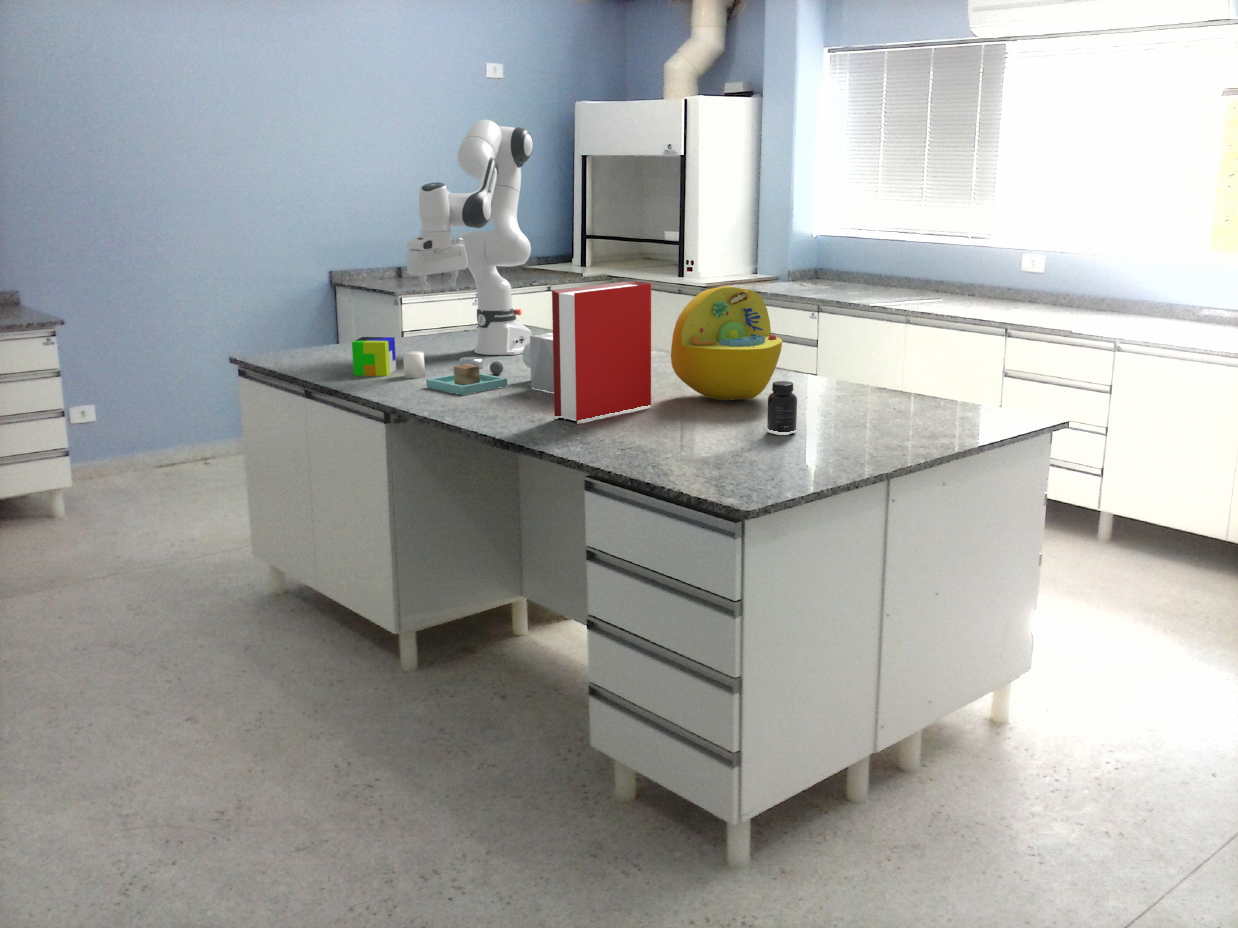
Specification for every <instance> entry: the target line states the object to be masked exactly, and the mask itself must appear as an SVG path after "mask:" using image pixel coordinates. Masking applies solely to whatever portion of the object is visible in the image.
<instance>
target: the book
mask: <svg viewBox="0 0 1238 928" xmlns="http://www.w3.org/2000/svg"><path fill="white" fill-rule="evenodd" d="M551 303H552V304H551V305H552V307H551V313H552V316H551V317H552V333H553V368H554V395H553V400H554V401H553V403H554V404H553V410H554V413H553V414H554V416H563V417H566V418H572V419H576V421H578V420H581V419H586V418H592V417H595V416H600V415H605V414H609V413H615V412H620V411H623V410H628V409H634V408H637V407H641V406H648V405H651V406H652V282H645V281H634V280H633V281H629V280H628V281H620V282H611V283H604V284H597V285H596V284H595V285H587V286H579V287H578V286H577V287H570V288H561V289H552V290H551Z"/></svg>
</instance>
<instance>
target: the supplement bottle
mask: <svg viewBox="0 0 1238 928" xmlns="http://www.w3.org/2000/svg"><path fill="white" fill-rule="evenodd" d="M771 386H772V388H771V391H772V393H770V394H769V395H768V397H767V418H766V420H767V422H766V423H767V428H768V429H769V430H773V431H778V432H790V431H794V430H796V431H797V419H798V418H797V417H798V416H797V415H798V414H797V413H798V398H797V396H796V394H795V393H793V392H794V391H795V390H794V383H793V382H792V381H787V380H777V381H773V382H772V385H771ZM767 428H766V429H767Z"/></svg>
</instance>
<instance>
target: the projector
mask: <svg viewBox="0 0 1238 928" xmlns="http://www.w3.org/2000/svg"><path fill="white" fill-rule="evenodd" d="M522 360H523V363H524V365H525V366H526V367H527V368H529V369H530V383H531V385H530V386H531V387H530V389H531V388H534V389H540V390H546V391H549V392H554V368H553V332H548V333H540V334H534V335H533V334H532V336H530V341H529V342H528V343H527V344H526V346H525V347H524V350H523V353H522Z"/></svg>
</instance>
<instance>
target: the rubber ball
mask: <svg viewBox="0 0 1238 928" xmlns="http://www.w3.org/2000/svg"><path fill="white" fill-rule="evenodd" d="M489 371H490V372H491V374H492V375H494V376H498V375H501V374H502V373H503V371H504V365H503V363H502V362H500V361H498V360H496V361H493V362H491V364H489Z"/></svg>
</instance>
